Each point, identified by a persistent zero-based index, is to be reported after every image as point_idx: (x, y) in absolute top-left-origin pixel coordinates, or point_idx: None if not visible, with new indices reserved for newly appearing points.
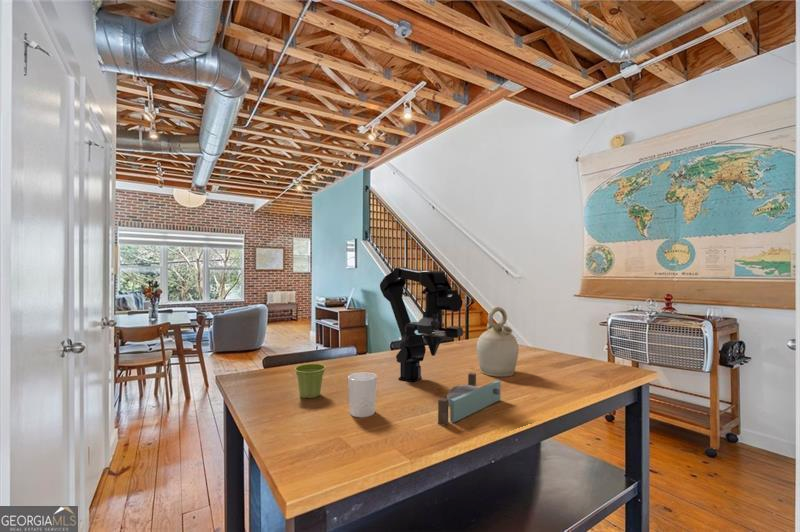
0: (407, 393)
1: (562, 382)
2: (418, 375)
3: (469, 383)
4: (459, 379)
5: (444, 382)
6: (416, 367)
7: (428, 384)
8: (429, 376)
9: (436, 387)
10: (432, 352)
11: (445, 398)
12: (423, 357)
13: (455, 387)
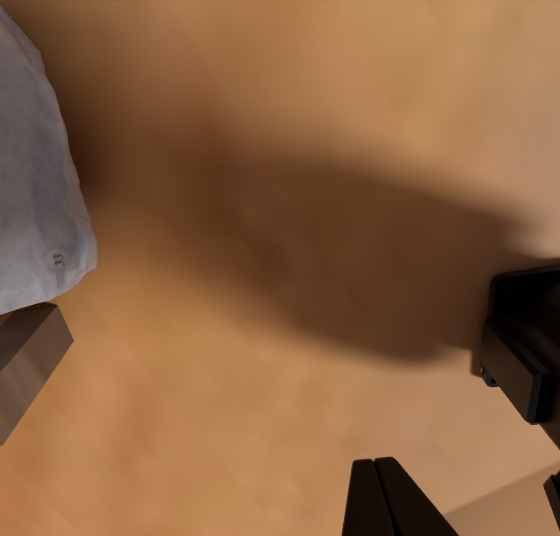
0: (433, 5)
1: None
2: (495, 342)
3: (11, 349)
4: (258, 469)
5: (305, 386)
6: (551, 375)
7: (379, 298)
8: (444, 422)
9: (299, 279)
10: (386, 502)
11: None
12: (557, 512)
13: (68, 241)
